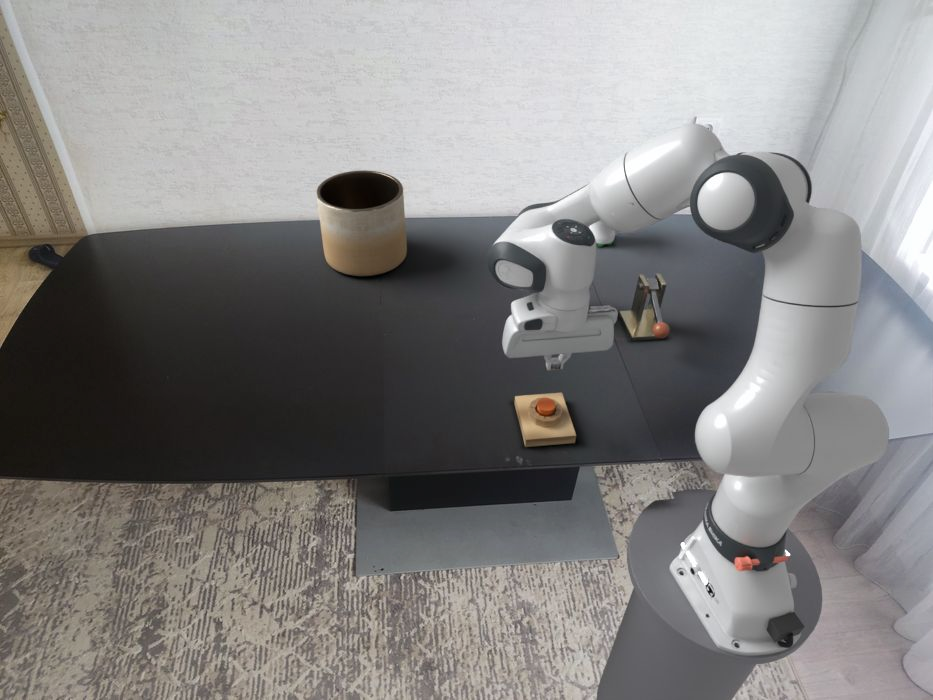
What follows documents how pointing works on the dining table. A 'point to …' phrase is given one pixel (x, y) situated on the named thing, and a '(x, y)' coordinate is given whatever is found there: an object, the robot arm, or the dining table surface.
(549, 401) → the button
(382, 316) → the dining table surface
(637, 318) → the lever bracket
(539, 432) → the button block
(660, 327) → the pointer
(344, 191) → the planter
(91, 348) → the dining table surface
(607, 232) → the cup
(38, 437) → the dining table surface
